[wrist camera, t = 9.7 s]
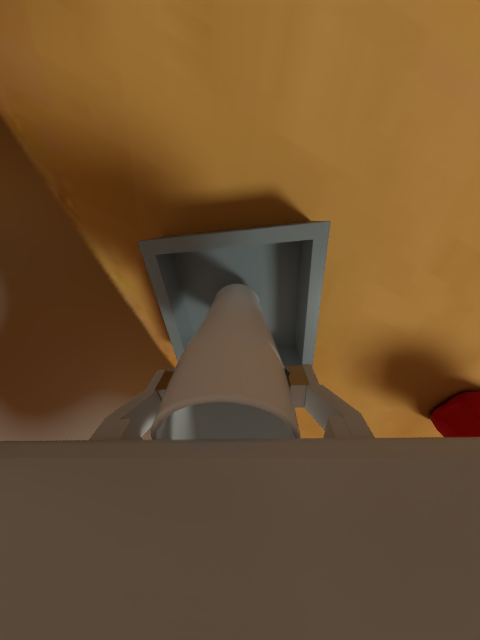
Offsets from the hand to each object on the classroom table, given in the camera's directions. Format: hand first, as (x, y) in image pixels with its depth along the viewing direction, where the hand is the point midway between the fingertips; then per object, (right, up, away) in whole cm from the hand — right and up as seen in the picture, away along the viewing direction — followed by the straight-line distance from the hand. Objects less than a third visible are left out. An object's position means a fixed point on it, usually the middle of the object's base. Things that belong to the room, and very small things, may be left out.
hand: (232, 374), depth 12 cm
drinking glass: (0, +5, +10) cm, 11 cm away
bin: (+1, +6, +11) cm, 13 cm away
